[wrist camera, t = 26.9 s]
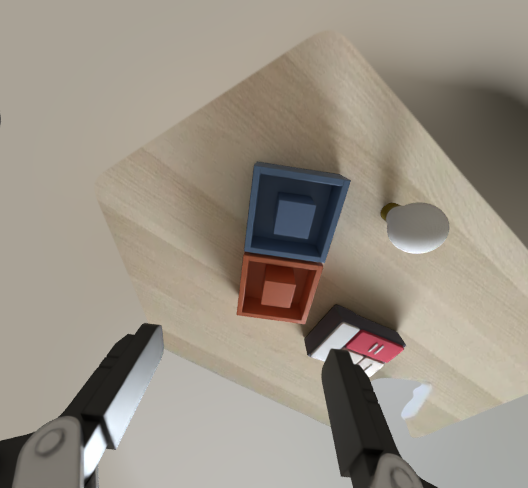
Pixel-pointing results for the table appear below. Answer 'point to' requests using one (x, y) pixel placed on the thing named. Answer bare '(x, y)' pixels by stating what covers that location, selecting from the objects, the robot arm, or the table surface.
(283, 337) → the table surface
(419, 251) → the light bulb
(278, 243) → the blue bin
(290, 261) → the terracotta bin
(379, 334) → the calculator
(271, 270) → the terracotta block
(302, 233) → the blue block
